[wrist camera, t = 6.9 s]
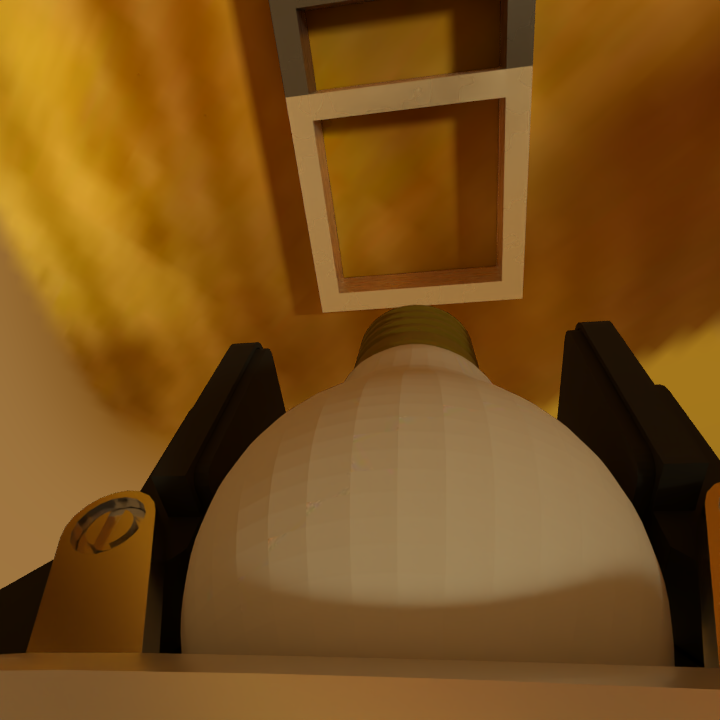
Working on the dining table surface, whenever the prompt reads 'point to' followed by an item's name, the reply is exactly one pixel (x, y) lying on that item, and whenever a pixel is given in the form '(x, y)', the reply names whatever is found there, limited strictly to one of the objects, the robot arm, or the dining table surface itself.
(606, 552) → the light bulb
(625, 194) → the dining table surface
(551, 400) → the dining table surface
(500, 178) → the rail
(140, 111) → the dining table surface
